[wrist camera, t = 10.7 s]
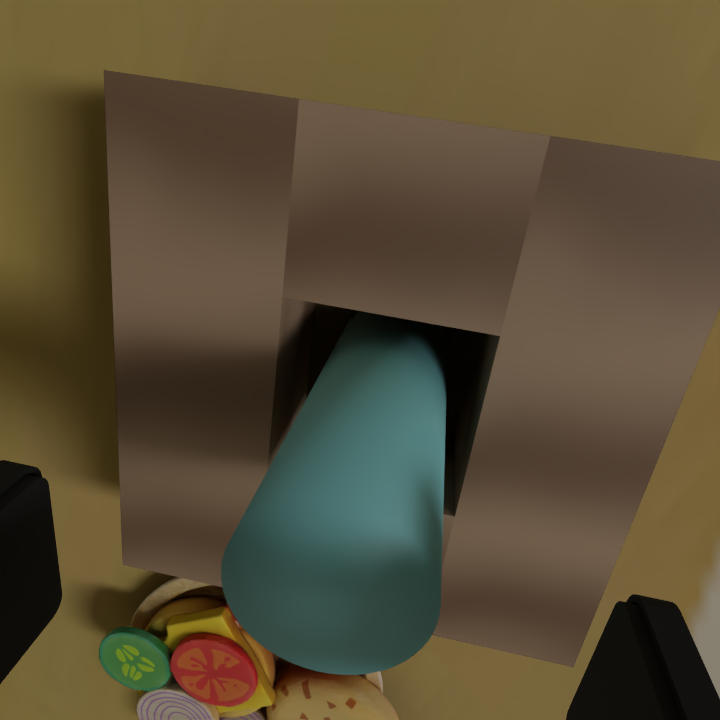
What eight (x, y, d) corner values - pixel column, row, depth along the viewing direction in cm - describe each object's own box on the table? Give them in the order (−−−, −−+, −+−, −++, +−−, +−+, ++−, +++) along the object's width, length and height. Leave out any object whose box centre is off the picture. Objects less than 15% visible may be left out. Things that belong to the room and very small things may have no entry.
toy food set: (426, 732, 29) (423, 800, 26) (209, 760, 33) (185, 823, 30) (322, 525, 25) (304, 578, 22) (88, 583, 29) (46, 636, 26)
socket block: (189, 84, 19) (103, 70, 14) (690, 158, 17) (775, 169, 13) (183, 484, 25) (122, 564, 20) (550, 562, 24) (573, 666, 19)
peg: (347, 290, 21) (225, 478, 10) (457, 310, 20) (462, 528, 9) (334, 389, 22) (217, 647, 11) (436, 408, 22) (418, 694, 11)
